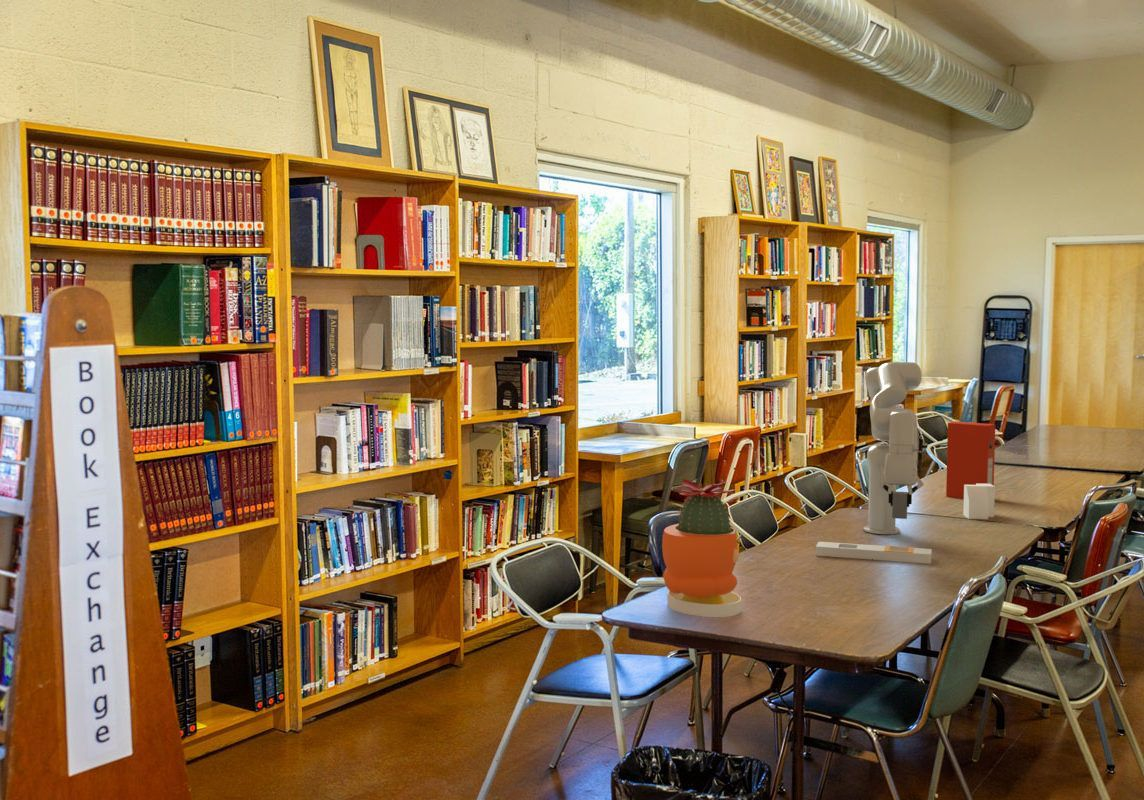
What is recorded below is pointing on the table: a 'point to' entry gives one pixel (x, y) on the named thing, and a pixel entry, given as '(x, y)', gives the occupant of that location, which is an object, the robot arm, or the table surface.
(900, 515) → the steel block
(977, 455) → the file binder
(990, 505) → the white upright cube
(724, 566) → the potted cactus
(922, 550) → the rail
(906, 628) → the table surface
